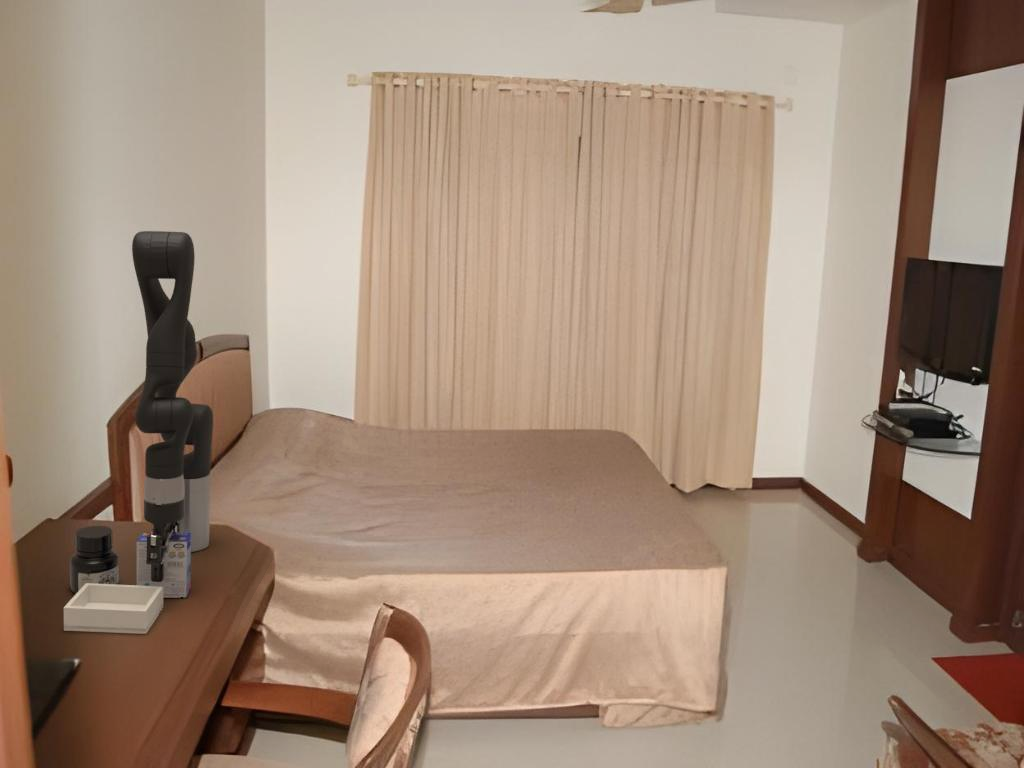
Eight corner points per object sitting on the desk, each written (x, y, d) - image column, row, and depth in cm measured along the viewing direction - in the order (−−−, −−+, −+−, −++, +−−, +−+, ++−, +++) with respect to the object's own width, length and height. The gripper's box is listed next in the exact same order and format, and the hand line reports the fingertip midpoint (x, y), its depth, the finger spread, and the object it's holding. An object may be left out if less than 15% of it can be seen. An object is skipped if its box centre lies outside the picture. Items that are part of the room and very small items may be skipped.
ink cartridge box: (191, 586, 189) (192, 520, 186) (188, 598, 184) (188, 530, 181) (140, 587, 187) (140, 520, 184) (135, 599, 182) (135, 530, 179)
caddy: (86, 604, 178) (85, 583, 177) (163, 608, 179) (163, 586, 178) (63, 630, 168) (63, 607, 167) (145, 633, 169) (145, 611, 168)
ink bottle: (82, 602, 179) (81, 544, 177) (59, 587, 184) (58, 531, 182) (129, 587, 187) (128, 532, 184) (106, 574, 192) (105, 520, 189)
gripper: (156, 483, 188) (155, 557, 191) (132, 506, 174) (132, 586, 177) (193, 485, 189) (192, 559, 192) (173, 509, 175) (172, 588, 178)
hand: (163, 572), depth 185 cm, fingers open, 8 cm apart
